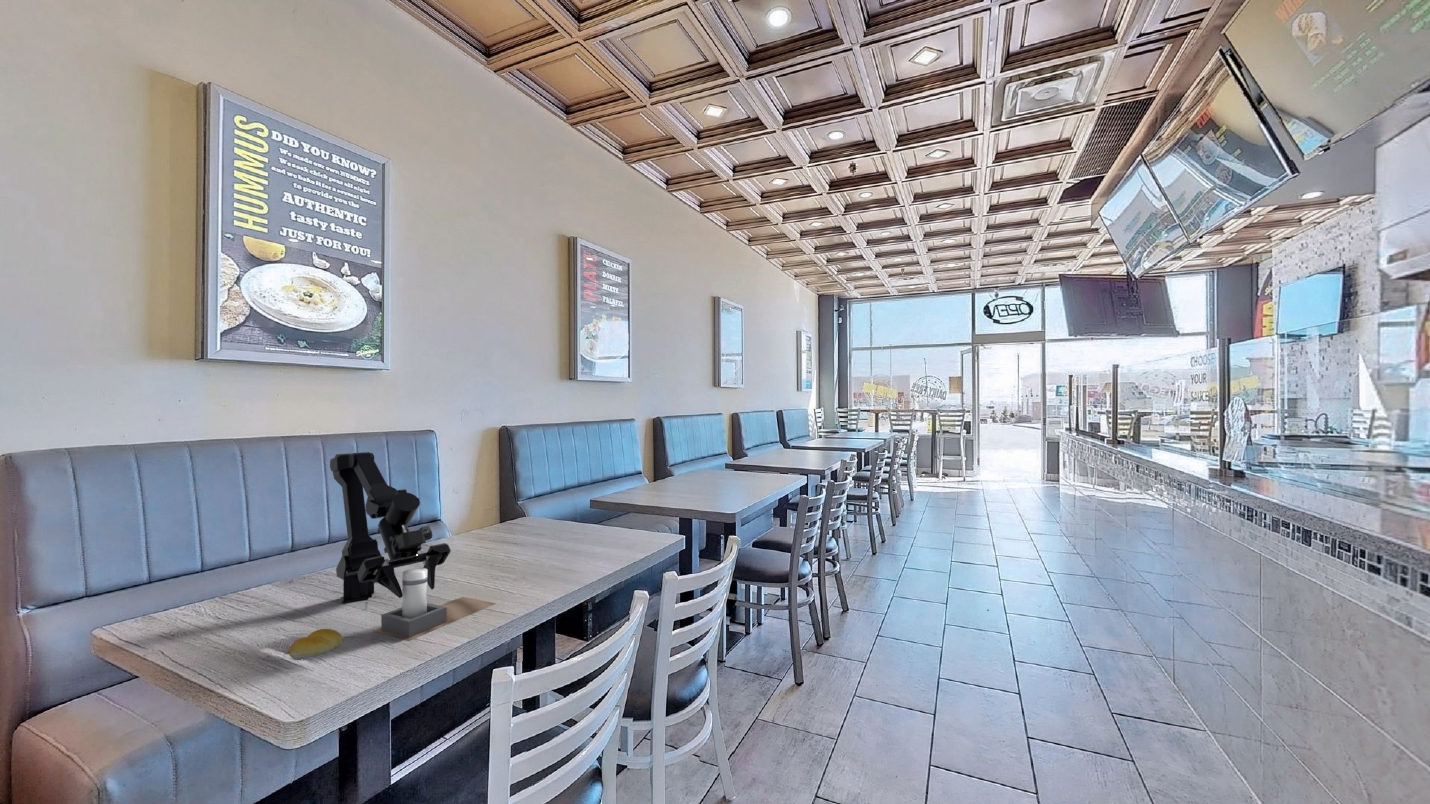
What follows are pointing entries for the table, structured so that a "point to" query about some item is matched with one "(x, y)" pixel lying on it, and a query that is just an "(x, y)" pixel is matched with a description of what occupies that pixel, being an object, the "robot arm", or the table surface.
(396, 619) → the socket collar
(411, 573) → the white capped cylinder
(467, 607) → the board
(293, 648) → the bread roll
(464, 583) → the table surface
